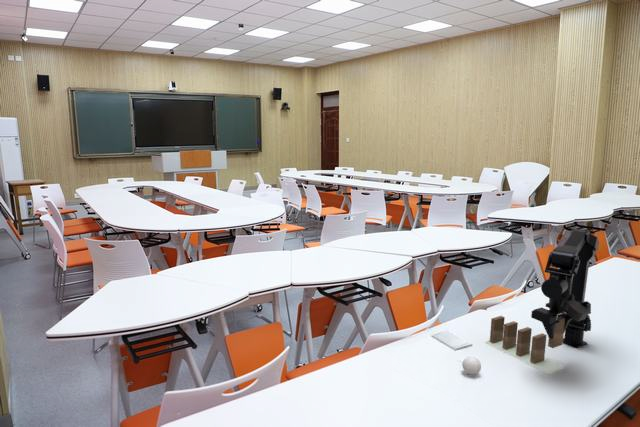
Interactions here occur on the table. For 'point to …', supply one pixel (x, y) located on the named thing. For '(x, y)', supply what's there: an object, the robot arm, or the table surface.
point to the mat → (544, 366)
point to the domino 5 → (557, 334)
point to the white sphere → (471, 365)
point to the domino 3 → (523, 341)
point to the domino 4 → (538, 348)
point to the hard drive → (451, 340)
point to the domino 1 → (497, 329)
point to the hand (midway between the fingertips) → (555, 336)
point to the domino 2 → (510, 335)
